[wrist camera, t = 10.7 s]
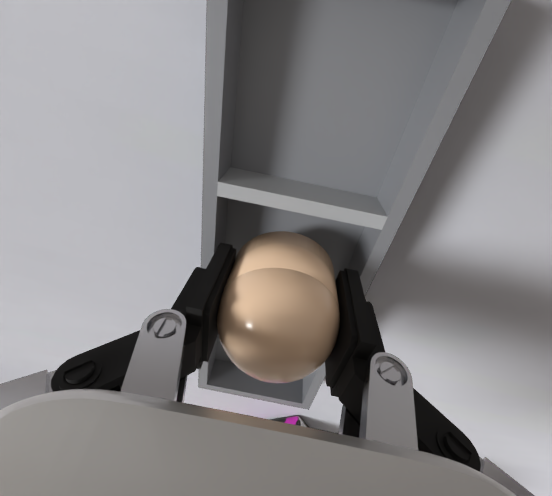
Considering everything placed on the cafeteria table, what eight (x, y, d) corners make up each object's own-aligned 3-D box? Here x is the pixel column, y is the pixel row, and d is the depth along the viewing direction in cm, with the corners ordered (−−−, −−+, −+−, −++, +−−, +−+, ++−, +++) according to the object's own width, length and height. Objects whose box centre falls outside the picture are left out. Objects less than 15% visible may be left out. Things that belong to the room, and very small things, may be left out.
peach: (238, 221, 11) (199, 305, 7) (347, 243, 11) (371, 339, 7) (230, 300, 14) (197, 395, 10) (318, 318, 14) (324, 420, 10)
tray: (235, -70, 8) (209, -121, 6) (478, -18, 9) (536, -51, 6) (209, 355, 21) (198, 387, 19) (308, 375, 21) (308, 409, 19)
